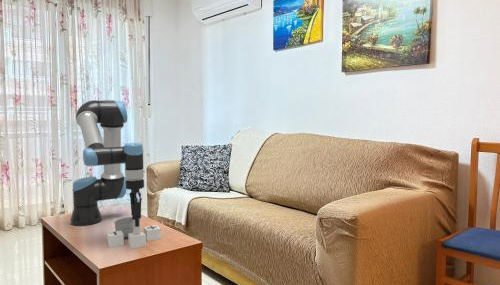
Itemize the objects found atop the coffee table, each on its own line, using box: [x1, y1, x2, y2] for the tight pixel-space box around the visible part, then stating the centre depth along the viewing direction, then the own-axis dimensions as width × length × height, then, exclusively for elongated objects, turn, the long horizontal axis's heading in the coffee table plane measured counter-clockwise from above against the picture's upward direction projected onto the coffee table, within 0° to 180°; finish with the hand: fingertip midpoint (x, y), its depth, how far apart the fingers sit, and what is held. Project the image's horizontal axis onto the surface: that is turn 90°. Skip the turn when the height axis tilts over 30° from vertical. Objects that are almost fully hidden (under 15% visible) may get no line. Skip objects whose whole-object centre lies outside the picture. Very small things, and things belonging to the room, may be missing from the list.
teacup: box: [114, 216, 133, 239], centre depth 174 cm, size 14×11×8 cm
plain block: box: [127, 230, 147, 250], centre depth 160 cm, size 6×6×5 cm
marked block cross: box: [143, 224, 162, 242], centre depth 169 cm, size 6×6×5 cm
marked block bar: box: [106, 230, 125, 249], centre depth 162 cm, size 6×6×5 cm
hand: (136, 233), depth 160 cm, fingers closed
